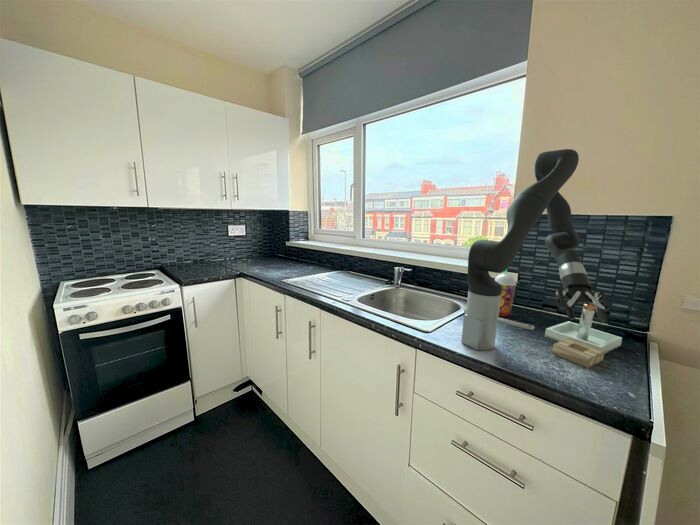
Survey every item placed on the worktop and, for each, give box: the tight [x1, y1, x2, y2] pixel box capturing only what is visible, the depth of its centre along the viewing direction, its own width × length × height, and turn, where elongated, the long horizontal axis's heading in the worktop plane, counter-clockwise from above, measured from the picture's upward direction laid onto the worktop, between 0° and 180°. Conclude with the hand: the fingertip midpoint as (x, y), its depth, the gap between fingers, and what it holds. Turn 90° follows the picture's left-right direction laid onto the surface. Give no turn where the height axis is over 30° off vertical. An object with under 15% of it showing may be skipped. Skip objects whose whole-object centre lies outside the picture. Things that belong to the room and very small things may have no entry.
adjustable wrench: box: [463, 308, 535, 331], centre depth 109 cm, size 25×6×2 cm, turn 46°
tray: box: [544, 320, 623, 355], centre depth 93 cm, size 15×15×3 cm
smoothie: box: [494, 269, 517, 317], centre depth 115 cm, size 8×8×20 cm
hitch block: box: [551, 338, 605, 369], centre depth 83 cm, size 9×9×3 cm
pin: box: [576, 303, 596, 341], centre depth 92 cm, size 3×3×12 cm
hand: (588, 320), depth 91 cm, fingers open, 8 cm apart
